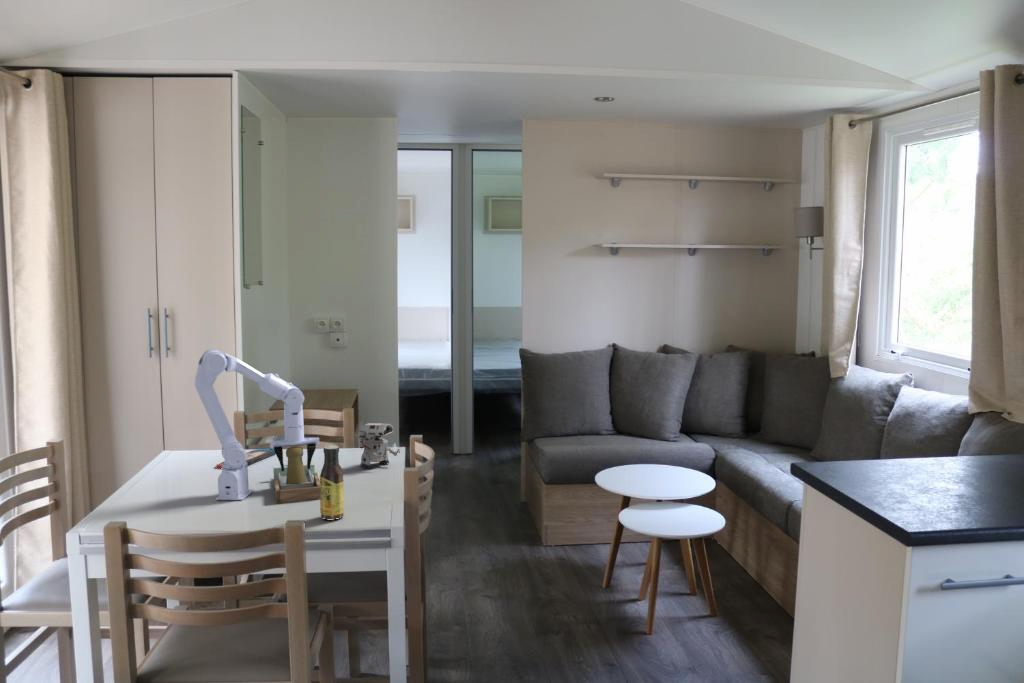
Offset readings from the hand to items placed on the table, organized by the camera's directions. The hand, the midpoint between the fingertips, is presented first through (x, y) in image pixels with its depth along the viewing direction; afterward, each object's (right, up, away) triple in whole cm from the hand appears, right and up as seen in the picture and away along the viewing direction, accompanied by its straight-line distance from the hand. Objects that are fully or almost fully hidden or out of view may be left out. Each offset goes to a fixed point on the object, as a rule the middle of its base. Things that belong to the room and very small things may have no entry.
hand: (295, 469), depth 243 cm
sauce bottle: (+18, -9, -29) cm, 35 cm away
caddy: (+2, -6, -6) cm, 9 cm away
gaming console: (-26, -3, +34) cm, 43 cm away
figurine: (+22, -3, +23) cm, 32 cm away
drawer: (-1, -4, +4) cm, 6 cm away
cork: (+1, -4, -3) cm, 5 cm away
